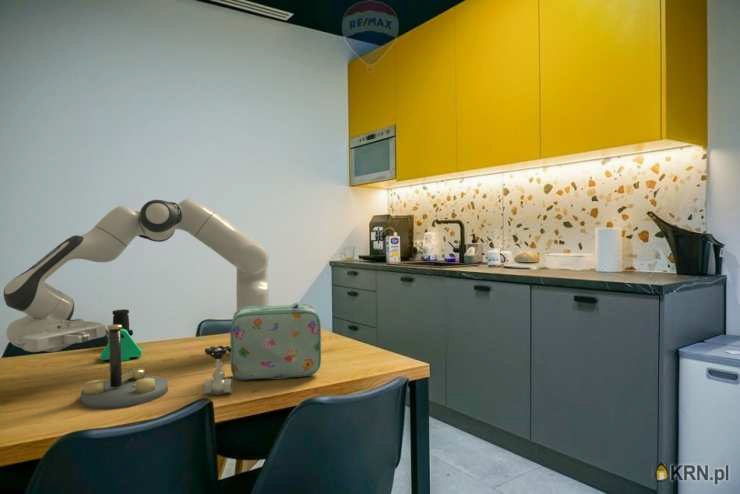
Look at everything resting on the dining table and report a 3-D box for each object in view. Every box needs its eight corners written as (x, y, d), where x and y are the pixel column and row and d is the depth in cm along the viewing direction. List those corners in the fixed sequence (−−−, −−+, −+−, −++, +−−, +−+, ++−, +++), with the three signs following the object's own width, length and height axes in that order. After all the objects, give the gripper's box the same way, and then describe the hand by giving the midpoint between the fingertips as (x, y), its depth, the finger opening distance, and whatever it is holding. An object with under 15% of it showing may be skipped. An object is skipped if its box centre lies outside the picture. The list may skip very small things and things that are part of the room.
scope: (106, 313, 169) (109, 309, 178) (107, 352, 169) (109, 346, 179) (131, 312, 172) (133, 308, 182) (132, 349, 173) (133, 344, 182)
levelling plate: (177, 381, 134) (176, 365, 134) (153, 406, 114) (152, 387, 114) (102, 384, 131) (102, 368, 131) (64, 410, 112) (64, 391, 111)
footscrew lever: (133, 375, 132) (132, 318, 132) (148, 375, 131) (147, 318, 131) (103, 388, 120) (102, 326, 120) (119, 389, 120) (118, 326, 119)
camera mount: (142, 354, 167) (141, 325, 166) (141, 359, 160) (140, 329, 159) (103, 358, 162) (102, 328, 162) (100, 363, 155) (99, 332, 155)
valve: (209, 390, 125) (208, 345, 125) (234, 390, 126) (233, 345, 126) (202, 399, 119) (201, 351, 119) (229, 398, 119) (228, 351, 119)
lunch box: (321, 367, 147) (321, 299, 146) (325, 377, 137) (325, 303, 136) (232, 373, 141) (231, 302, 141) (229, 384, 131) (228, 307, 131)
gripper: (10, 331, 123) (44, 334, 117) (86, 318, 142) (117, 320, 136) (11, 355, 123) (45, 360, 117) (87, 338, 142) (118, 342, 136)
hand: (84, 338), depth 127 cm, fingers closed
